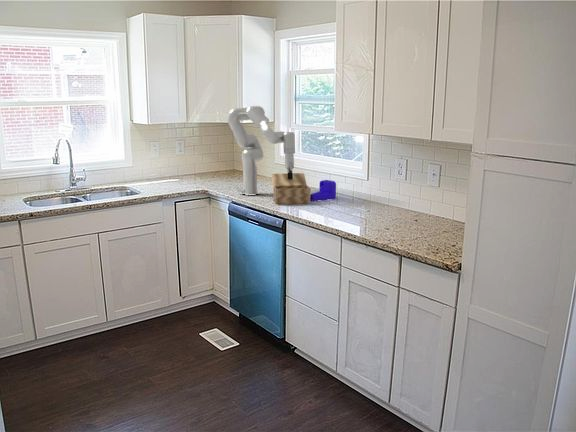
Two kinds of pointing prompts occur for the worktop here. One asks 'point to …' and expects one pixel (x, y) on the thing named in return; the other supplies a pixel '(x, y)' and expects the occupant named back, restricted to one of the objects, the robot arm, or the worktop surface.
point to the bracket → (325, 191)
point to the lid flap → (284, 181)
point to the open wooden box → (291, 194)
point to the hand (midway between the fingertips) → (290, 178)
